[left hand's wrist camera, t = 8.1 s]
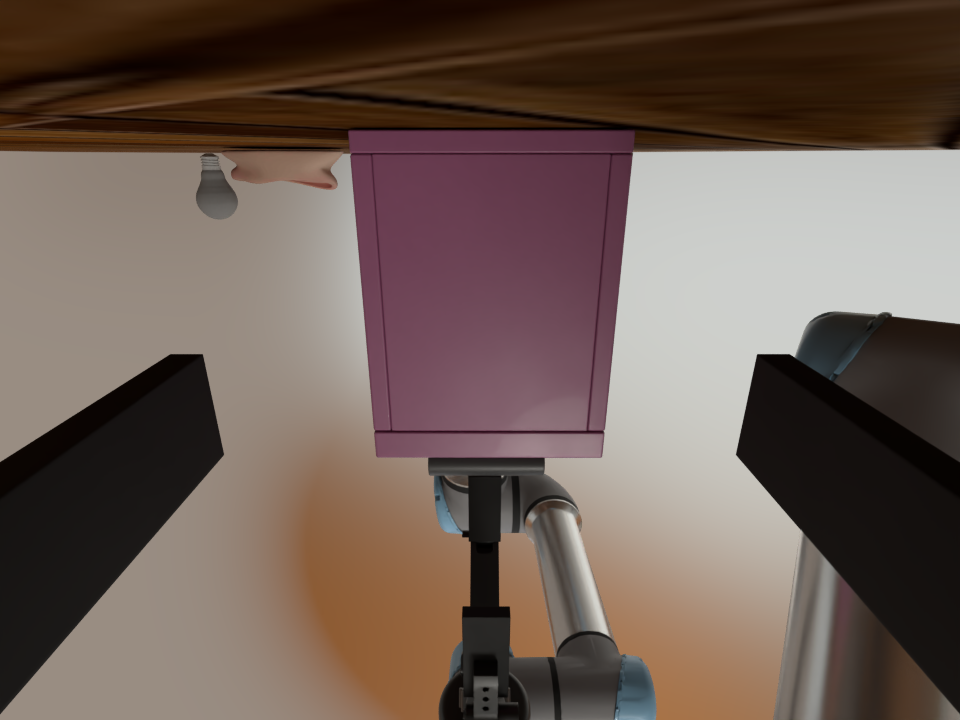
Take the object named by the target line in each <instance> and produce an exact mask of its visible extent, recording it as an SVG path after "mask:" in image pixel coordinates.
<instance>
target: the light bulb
mask: <svg viewBox="0 0 960 720" xmlns="http://www.w3.org/2000/svg"><path fill="white" fill-rule="evenodd" d="M200 158H202V163H203V165H202V172H201V182H200V186H199V188H198V191H197V193H196V201H197V204H198V206H199V208H200V209H201V211H202V212H203V213H205V214H206V215H207V216H209V217H211V218H214V219H225V218H228V217H230V216H231V215H232V214H233V213H234V212H235V210H236V208H237V205H238V200H237V196H236V194H235V192H234V190H233V189H232V188H231V186H230V185H229V184H228V182H227V181H226V179H225V176H224V173H223V172H222V170H221V167H220V166H219V161H218V159H219V157H218V156H216V155H214V154H212V153H206V154H204V155H202V156H201V157H200Z"/></svg>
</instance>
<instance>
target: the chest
mask: <svg viewBox="0 0 960 720" xmlns="http://www.w3.org/2000/svg"><path fill="white" fill-rule="evenodd" d="M348 136H349V147H350V152H351V153H353V154H351V156H350V158H351V169H352V181H353V192H354V204H355V216H356V227H357V239H358V250H359V262H360V273H361V285H362V297H363V308H364V320H365V331H366V343H367V354H368V366H369V378H370V389H371V401H372V412H373V424H374V430H391V429H392V430H393V431H587V429H588V430H589V431H603V430H605V423H606V413H607V403H608V393H609V383H610V373H611V363H612V354H613V344H614V334H615V324H616V314H617V304H618V294H619V284H620V274H621V265H622V255H623V245H624V235H625V225H626V215H627V205H628V195H629V186H630V176H631V166H632V154H630V153H632V152H633V147H634V137H635V130H633V129H416V130H349V131H348Z"/></svg>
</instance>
